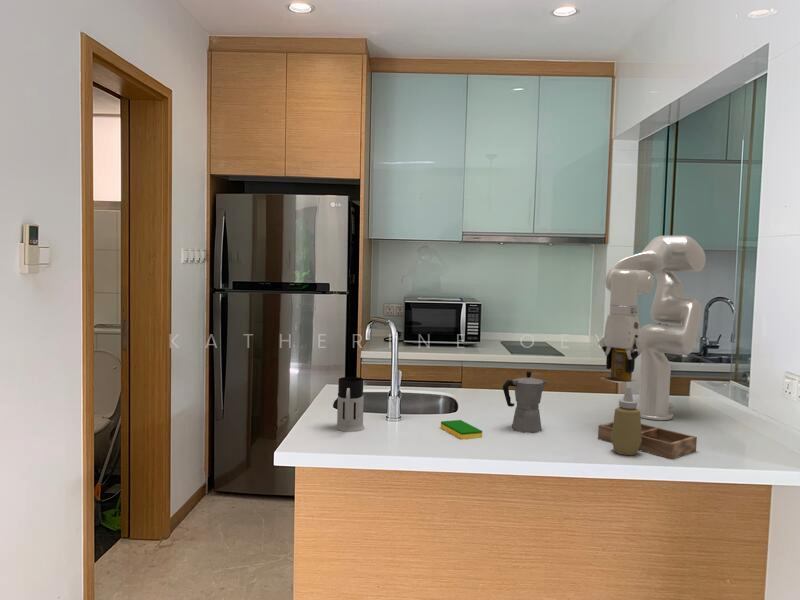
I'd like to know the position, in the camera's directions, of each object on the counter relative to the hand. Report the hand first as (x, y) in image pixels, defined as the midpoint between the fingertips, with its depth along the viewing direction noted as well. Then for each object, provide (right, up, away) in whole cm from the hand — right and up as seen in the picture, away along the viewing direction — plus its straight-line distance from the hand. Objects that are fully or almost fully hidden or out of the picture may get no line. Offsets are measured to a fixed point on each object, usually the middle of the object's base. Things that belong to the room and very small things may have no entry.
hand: (619, 369), depth 196 cm
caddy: (+4, -20, -10) cm, 23 cm away
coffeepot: (-28, -19, +4) cm, 34 cm away
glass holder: (-82, -18, -2) cm, 84 cm away
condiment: (0, -3, 0) cm, 3 cm away
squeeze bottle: (-5, -21, -18) cm, 28 cm away
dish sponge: (-48, -19, -1) cm, 52 cm away
